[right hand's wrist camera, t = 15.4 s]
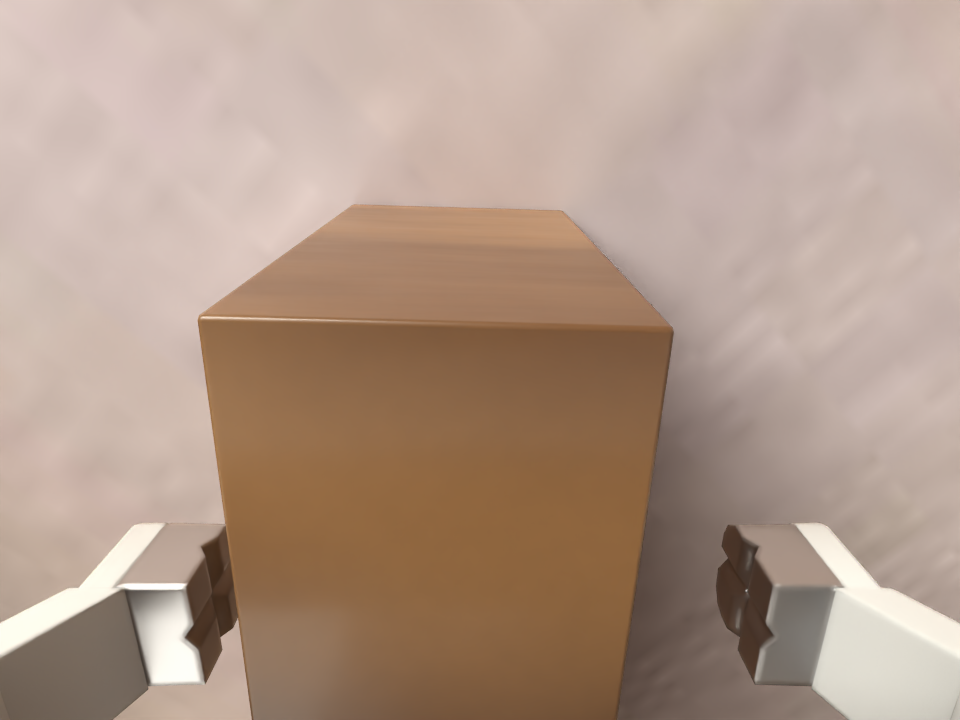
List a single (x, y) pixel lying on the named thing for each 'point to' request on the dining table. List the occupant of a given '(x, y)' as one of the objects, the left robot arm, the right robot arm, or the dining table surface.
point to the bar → (436, 466)
